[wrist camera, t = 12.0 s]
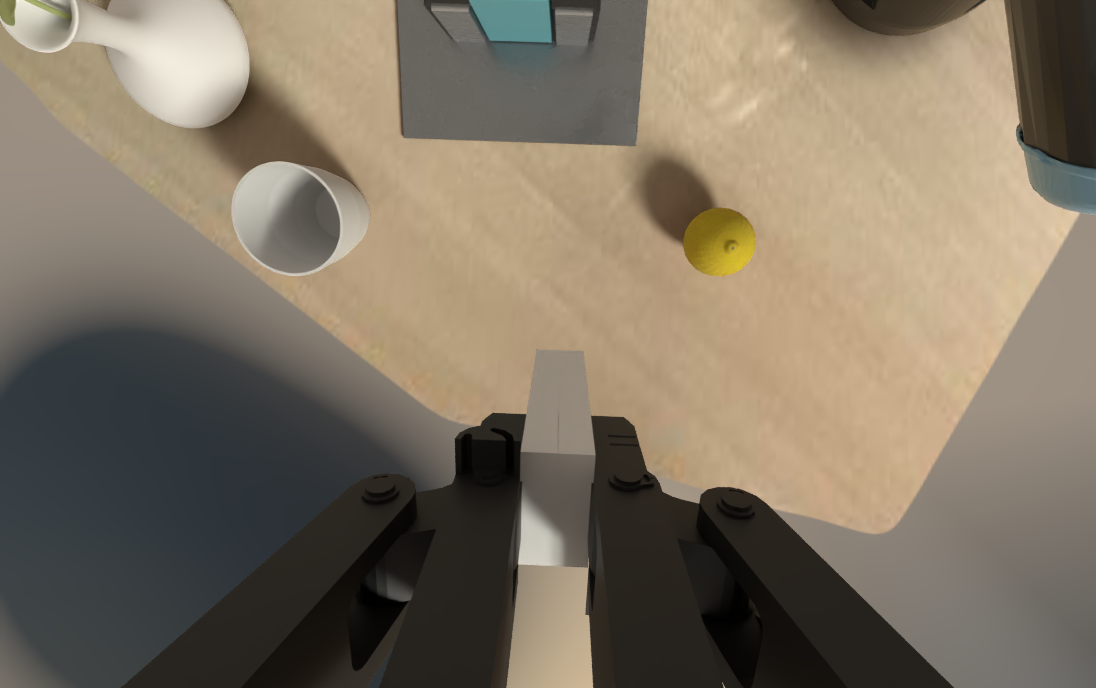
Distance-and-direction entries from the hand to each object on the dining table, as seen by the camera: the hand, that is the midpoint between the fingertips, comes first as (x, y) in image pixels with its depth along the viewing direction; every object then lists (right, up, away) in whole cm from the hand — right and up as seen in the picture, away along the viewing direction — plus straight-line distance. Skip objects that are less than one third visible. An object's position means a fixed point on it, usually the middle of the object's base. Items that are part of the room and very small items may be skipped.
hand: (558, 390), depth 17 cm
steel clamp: (-3, +26, +26) cm, 37 cm away
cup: (-19, +14, +30) cm, 38 cm away
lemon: (+14, +11, +30) cm, 35 cm away
